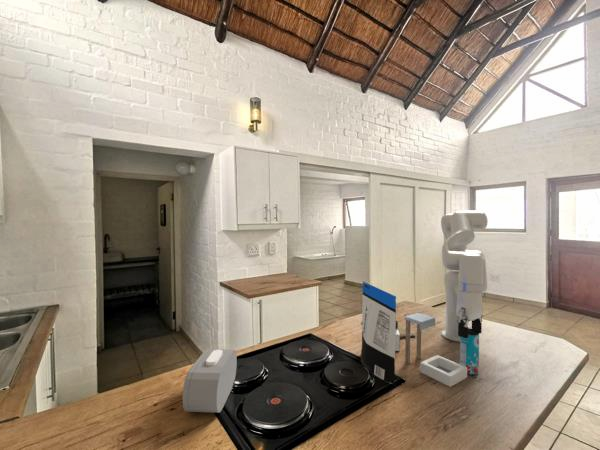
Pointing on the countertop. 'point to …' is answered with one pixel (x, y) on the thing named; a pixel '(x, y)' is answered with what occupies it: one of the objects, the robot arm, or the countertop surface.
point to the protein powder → (378, 332)
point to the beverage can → (470, 352)
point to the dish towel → (403, 333)
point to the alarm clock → (209, 381)
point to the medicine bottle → (397, 338)
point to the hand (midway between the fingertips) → (469, 334)
